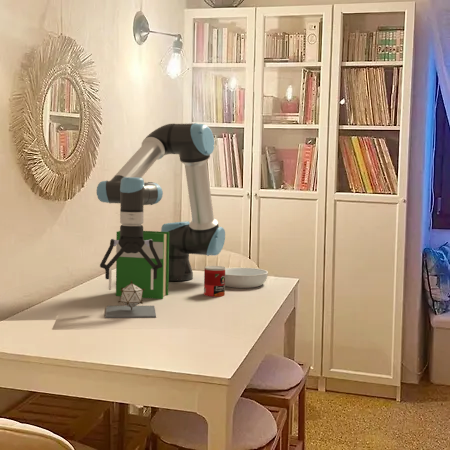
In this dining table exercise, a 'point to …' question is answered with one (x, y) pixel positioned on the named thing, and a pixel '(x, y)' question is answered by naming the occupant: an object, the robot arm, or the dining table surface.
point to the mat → (130, 312)
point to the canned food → (214, 281)
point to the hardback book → (144, 267)
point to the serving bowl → (244, 277)
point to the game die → (131, 295)
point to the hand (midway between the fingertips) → (131, 289)
